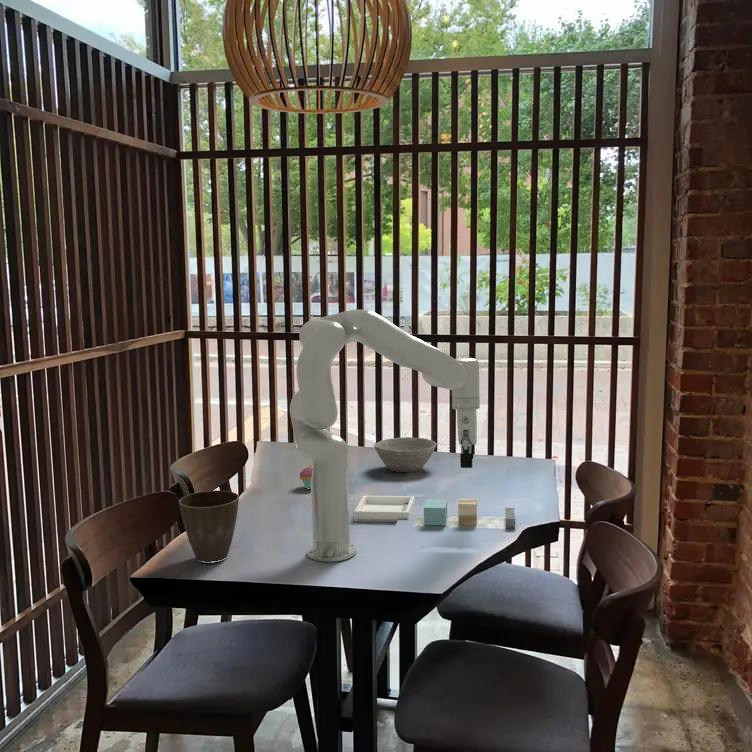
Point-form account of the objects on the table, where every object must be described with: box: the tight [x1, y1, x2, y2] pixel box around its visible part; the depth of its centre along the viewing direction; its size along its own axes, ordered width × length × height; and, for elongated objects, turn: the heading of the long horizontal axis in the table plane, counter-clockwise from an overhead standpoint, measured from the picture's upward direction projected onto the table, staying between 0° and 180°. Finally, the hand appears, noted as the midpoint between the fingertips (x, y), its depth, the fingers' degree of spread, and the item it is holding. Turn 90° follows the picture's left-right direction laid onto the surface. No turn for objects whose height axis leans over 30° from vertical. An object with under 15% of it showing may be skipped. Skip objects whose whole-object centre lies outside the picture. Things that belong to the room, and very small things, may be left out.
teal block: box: [423, 498, 448, 525], centre depth 212 cm, size 8×6×5 cm
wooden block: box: [457, 498, 478, 525], centre depth 210 cm, size 5×5×6 cm
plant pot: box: [178, 490, 240, 562], centre depth 191 cm, size 15×15×16 cm
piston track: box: [412, 507, 516, 530], centre depth 211 cm, size 10×28×4 cm, turn 81°
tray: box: [353, 495, 416, 523], centre depth 224 cm, size 16×16×3 cm
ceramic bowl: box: [373, 437, 437, 473], centre depth 274 cm, size 22×23×10 cm
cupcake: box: [299, 463, 313, 489], centre depth 254 cm, size 9×8×12 cm
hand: (467, 463), depth 209 cm, fingers open, 9 cm apart
